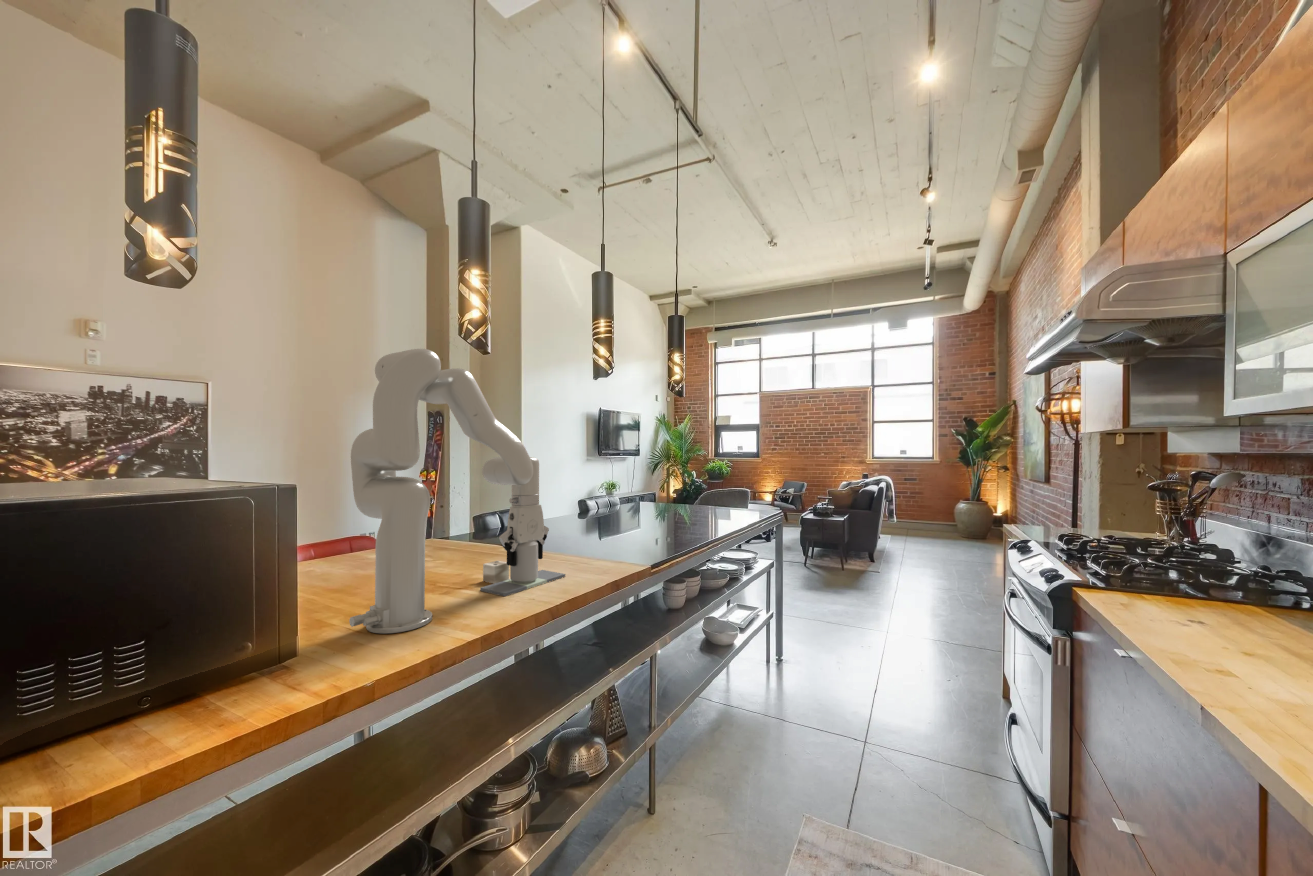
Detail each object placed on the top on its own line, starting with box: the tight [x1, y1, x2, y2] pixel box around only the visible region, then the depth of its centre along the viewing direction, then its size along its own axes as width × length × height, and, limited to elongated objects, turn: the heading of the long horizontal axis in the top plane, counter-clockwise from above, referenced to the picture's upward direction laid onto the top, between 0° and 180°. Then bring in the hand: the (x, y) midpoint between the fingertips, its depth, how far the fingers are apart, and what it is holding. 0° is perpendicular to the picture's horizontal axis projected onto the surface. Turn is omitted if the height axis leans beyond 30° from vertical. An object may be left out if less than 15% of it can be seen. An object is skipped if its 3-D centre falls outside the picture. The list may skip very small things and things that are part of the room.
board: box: [479, 569, 566, 597], centre depth 135 cm, size 22×10×1 cm, turn 148°
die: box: [482, 560, 510, 584], centre depth 138 cm, size 5×5×5 cm
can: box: [509, 539, 539, 584], centre depth 135 cm, size 8×8×12 cm
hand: (525, 561), depth 135 cm, fingers open, 9 cm apart
